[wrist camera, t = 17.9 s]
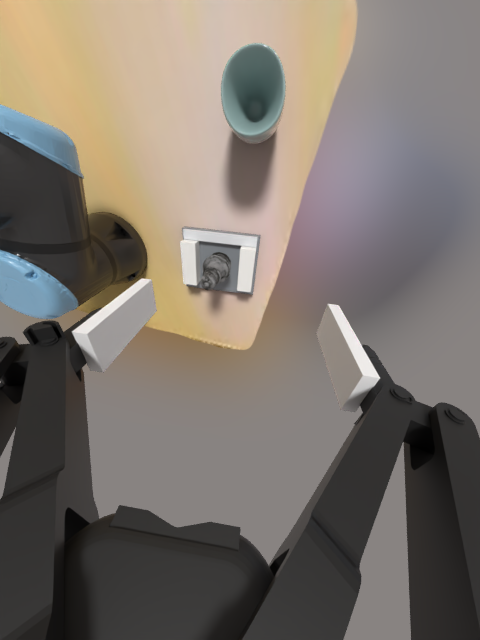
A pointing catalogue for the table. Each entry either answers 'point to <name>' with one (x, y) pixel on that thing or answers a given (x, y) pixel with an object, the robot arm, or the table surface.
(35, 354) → the robot arm
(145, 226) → the table surface
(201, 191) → the table surface
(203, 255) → the rail board
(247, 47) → the cup
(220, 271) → the salt shaker
